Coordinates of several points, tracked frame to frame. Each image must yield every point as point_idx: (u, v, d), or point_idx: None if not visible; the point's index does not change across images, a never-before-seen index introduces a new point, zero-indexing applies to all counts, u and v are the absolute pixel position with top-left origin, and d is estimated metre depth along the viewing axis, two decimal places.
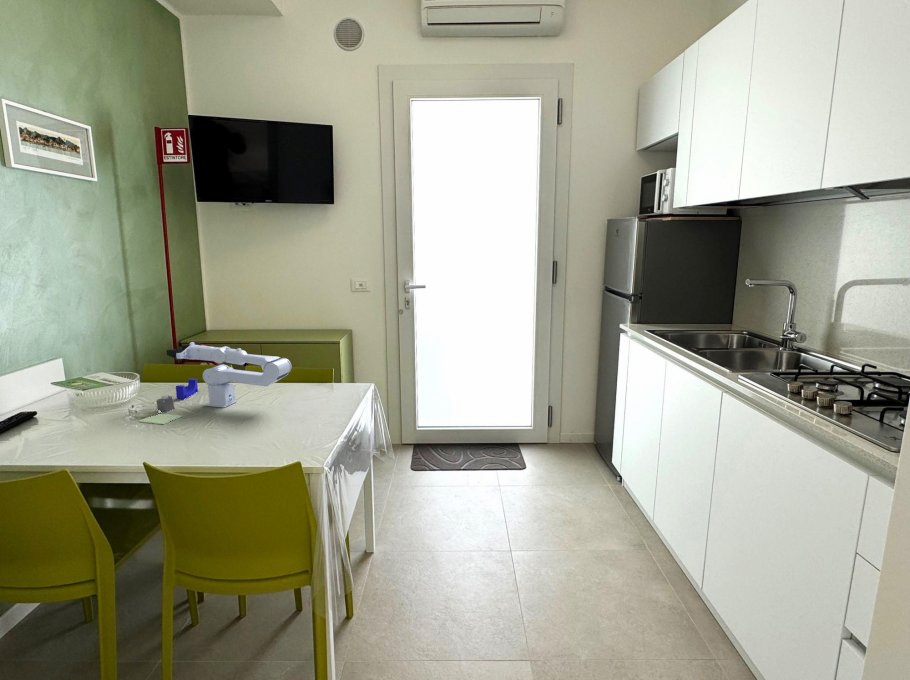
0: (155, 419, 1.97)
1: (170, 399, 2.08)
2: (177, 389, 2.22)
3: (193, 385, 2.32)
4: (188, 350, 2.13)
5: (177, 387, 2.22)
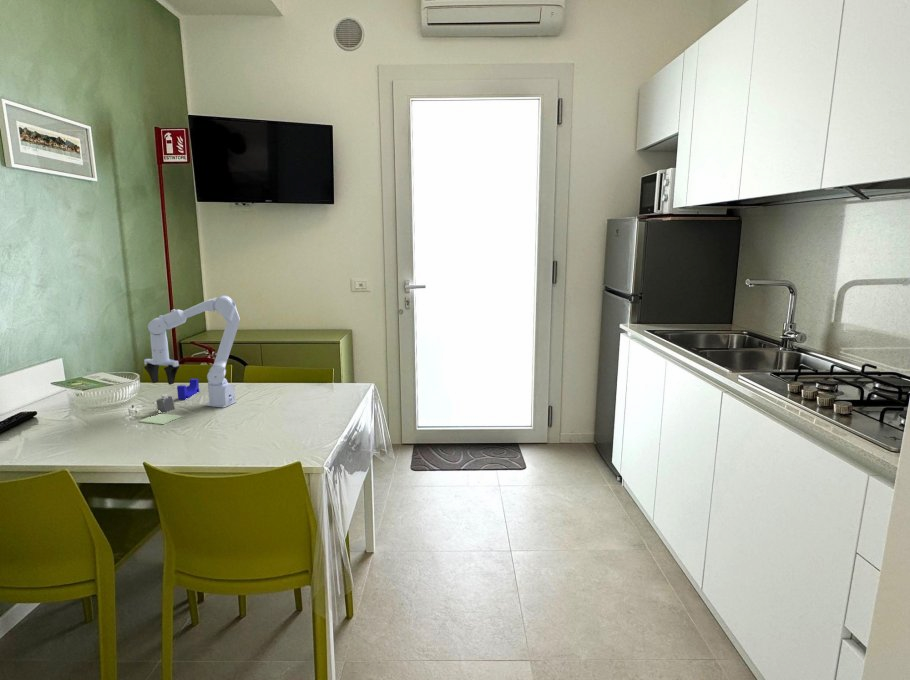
0: (155, 419, 1.97)
1: (170, 399, 2.08)
2: (178, 389, 2.22)
3: (194, 385, 2.32)
4: (164, 361, 2.06)
5: (178, 387, 2.22)
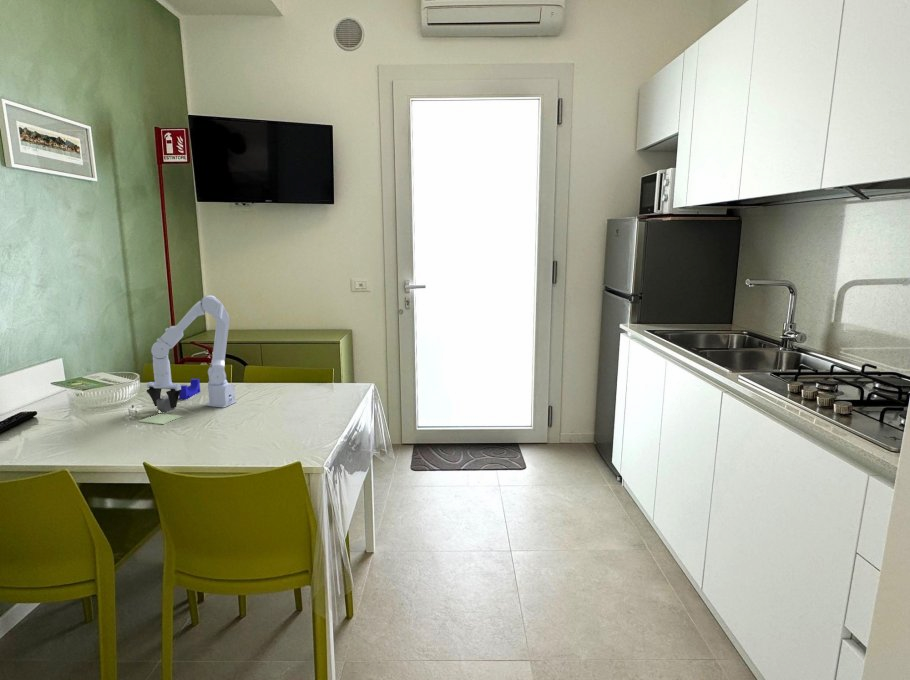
0: (155, 419, 1.97)
1: None
2: None
3: (195, 385, 2.32)
4: (166, 385, 2.05)
5: None
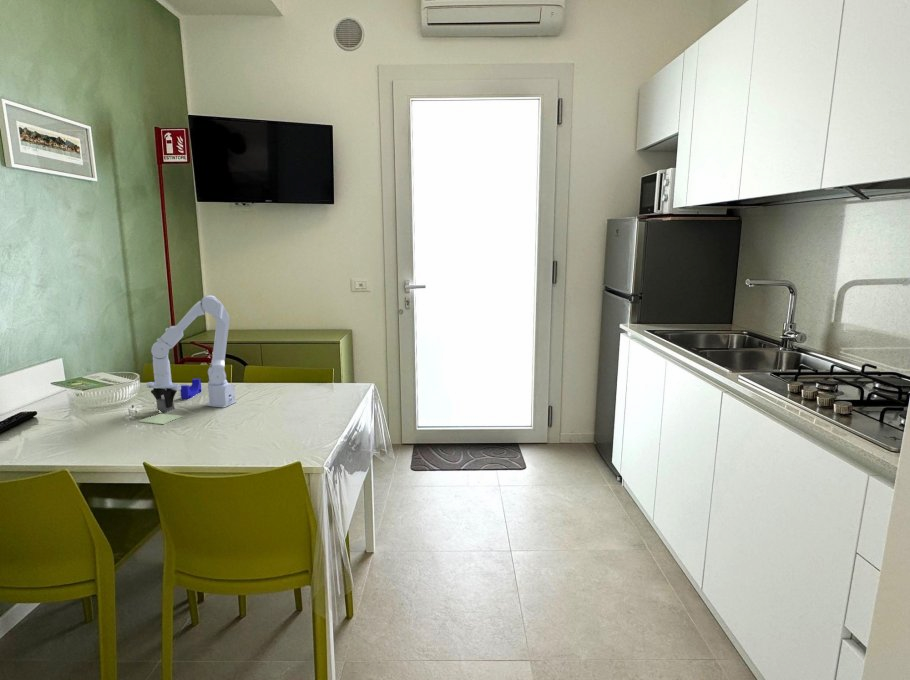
0: (155, 419, 1.97)
1: None
2: (181, 389, 2.22)
3: (197, 385, 2.32)
4: (166, 385, 2.05)
5: (181, 387, 2.22)
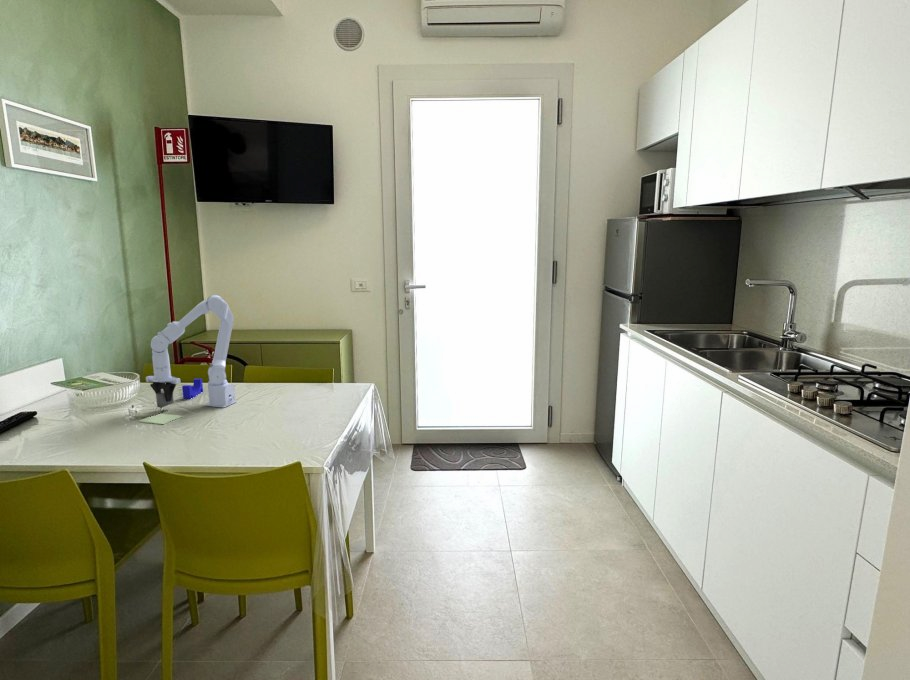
0: (155, 419, 1.97)
1: None
2: (183, 389, 2.22)
3: (198, 385, 2.32)
4: (165, 379, 2.04)
5: (183, 387, 2.22)
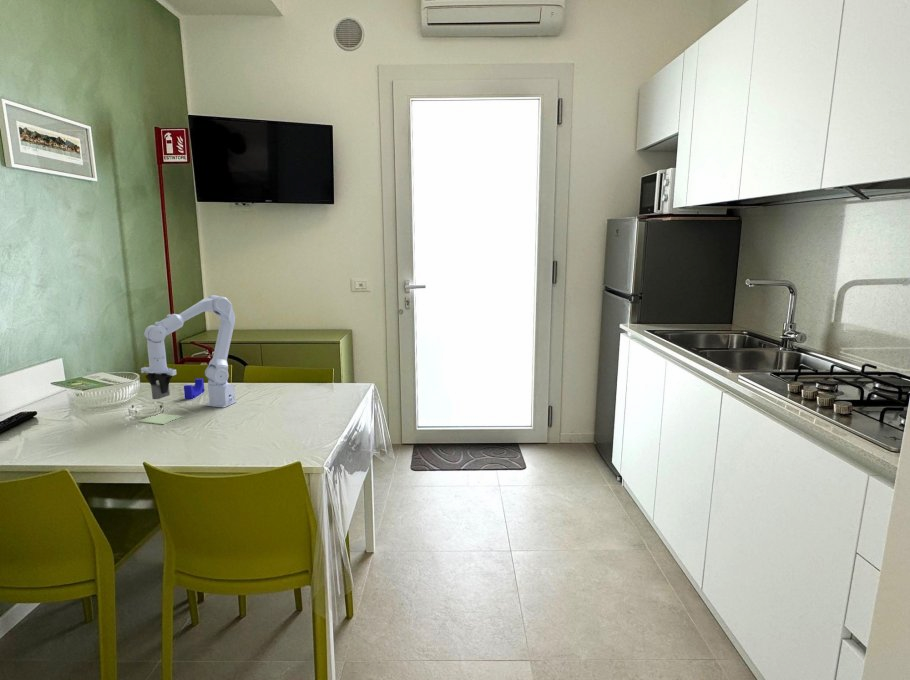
0: (155, 419, 1.97)
1: None
2: (185, 389, 2.22)
3: (200, 385, 2.32)
4: (161, 370, 1.98)
5: (185, 387, 2.22)
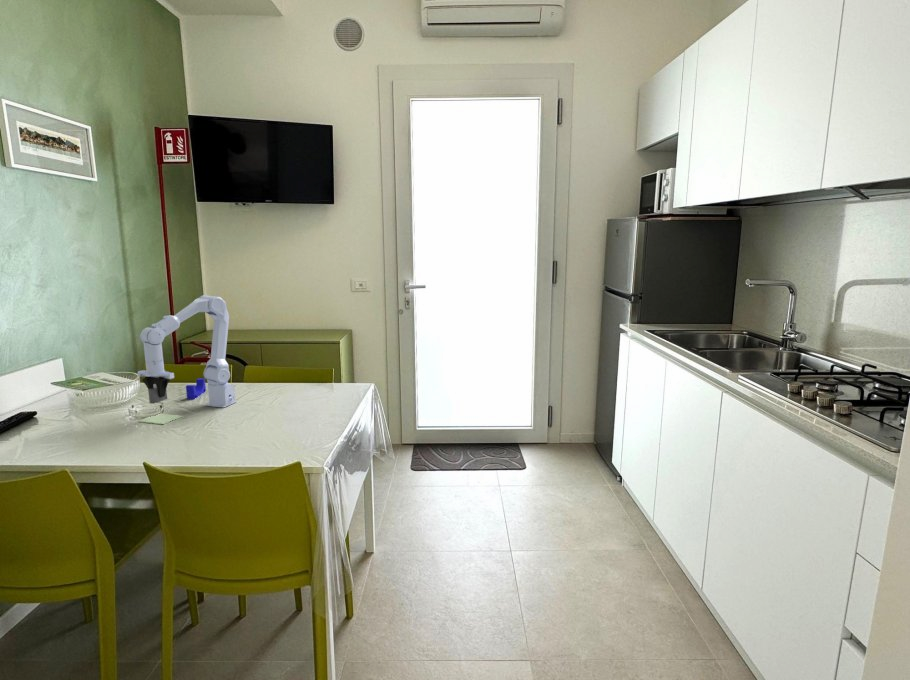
0: (155, 419, 1.97)
1: None
2: (187, 389, 2.23)
3: (201, 385, 2.33)
4: (158, 373, 1.93)
5: (187, 387, 2.22)
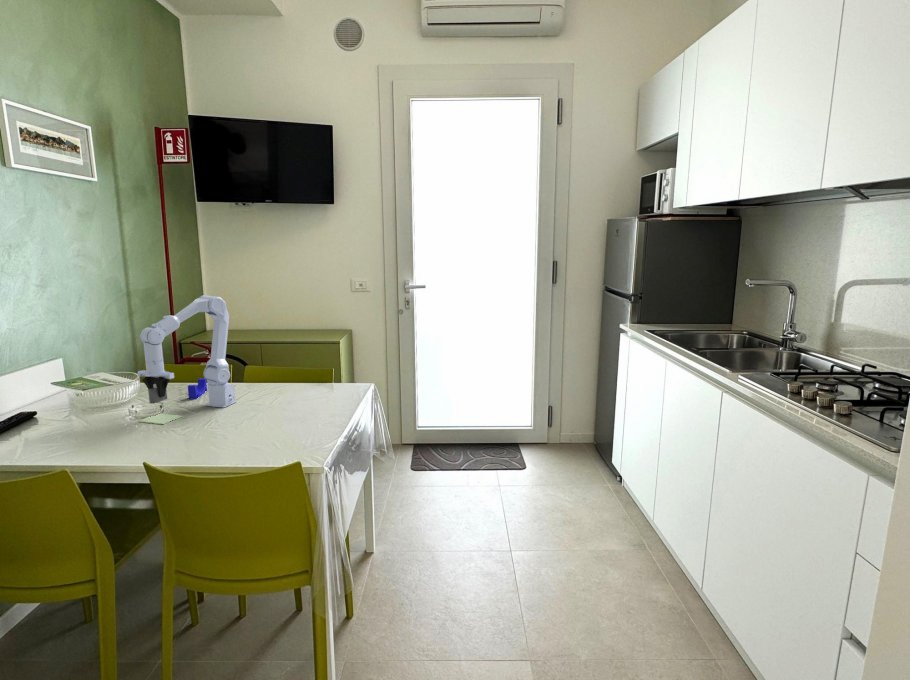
0: (155, 419, 1.97)
1: None
2: (189, 389, 2.23)
3: (203, 385, 2.33)
4: (158, 373, 1.93)
5: (189, 387, 2.23)
